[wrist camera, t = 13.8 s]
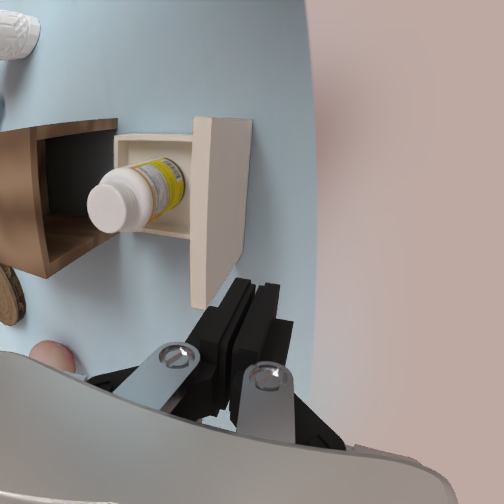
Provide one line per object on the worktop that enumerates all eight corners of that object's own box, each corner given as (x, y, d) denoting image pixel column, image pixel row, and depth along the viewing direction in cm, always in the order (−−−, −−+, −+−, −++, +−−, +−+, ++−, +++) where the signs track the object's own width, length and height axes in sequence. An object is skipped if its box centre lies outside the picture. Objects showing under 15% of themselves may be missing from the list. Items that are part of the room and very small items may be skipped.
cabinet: (39, 125, 34) (-37, 140, 22) (117, 118, 31) (29, 127, 19) (45, 220, 39) (-22, 254, 27) (119, 232, 37) (46, 279, 25)
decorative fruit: (77, 334, 46) (41, 369, 37) (92, 370, 50) (61, 406, 41) (43, 324, 48) (9, 354, 39) (58, 358, 52) (28, 389, 43)
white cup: (42, 4, 26) (-9, -5, 17) (45, 45, 29) (-11, 42, 20) (11, 31, 29) (-37, 29, 20) (13, 72, 31) (-38, 74, 22)
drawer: (130, 117, 31) (56, 123, 20) (252, 119, 28) (211, 117, 18) (132, 234, 36) (69, 276, 26) (242, 252, 34) (205, 310, 24)
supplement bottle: (139, 202, 33) (78, 233, 24) (144, 152, 31) (80, 168, 22) (185, 214, 32) (132, 251, 23) (193, 161, 30) (137, 180, 21)
